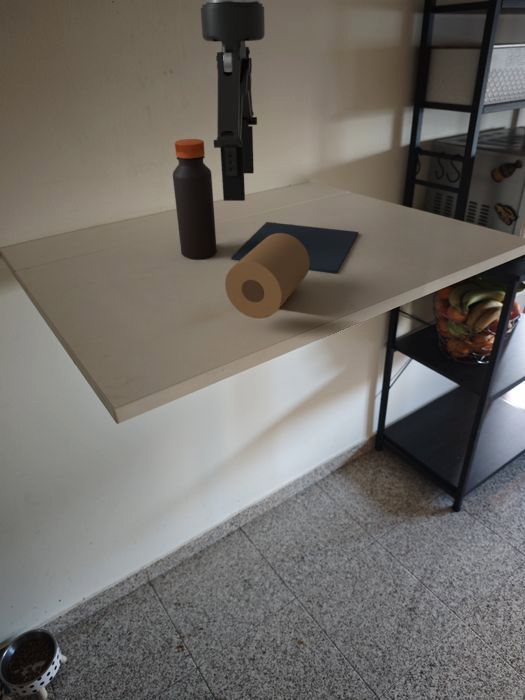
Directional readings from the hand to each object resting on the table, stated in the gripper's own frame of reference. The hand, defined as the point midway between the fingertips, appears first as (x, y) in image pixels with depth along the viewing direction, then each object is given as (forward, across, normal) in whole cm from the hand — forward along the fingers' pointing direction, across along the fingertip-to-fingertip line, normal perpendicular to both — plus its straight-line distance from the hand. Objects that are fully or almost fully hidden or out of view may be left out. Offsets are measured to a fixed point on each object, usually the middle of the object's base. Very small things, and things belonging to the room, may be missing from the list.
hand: (239, 185), depth 70 cm
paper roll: (+13, +1, +4) cm, 14 cm away
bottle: (+18, -18, -10) cm, 27 cm away
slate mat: (+18, -22, +8) cm, 29 cm away
